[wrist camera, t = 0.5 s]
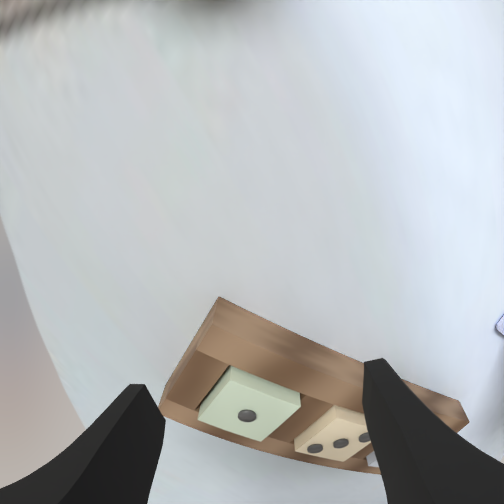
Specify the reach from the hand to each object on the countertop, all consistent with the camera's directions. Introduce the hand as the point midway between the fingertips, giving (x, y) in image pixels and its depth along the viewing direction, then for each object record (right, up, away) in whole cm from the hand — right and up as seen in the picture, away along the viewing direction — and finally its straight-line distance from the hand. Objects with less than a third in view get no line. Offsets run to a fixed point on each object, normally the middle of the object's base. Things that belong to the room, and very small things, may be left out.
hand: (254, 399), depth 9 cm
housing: (+7, -8, +14) cm, 18 cm away
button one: (0, -5, +12) cm, 13 cm away
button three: (+7, -8, +13) cm, 17 cm away
